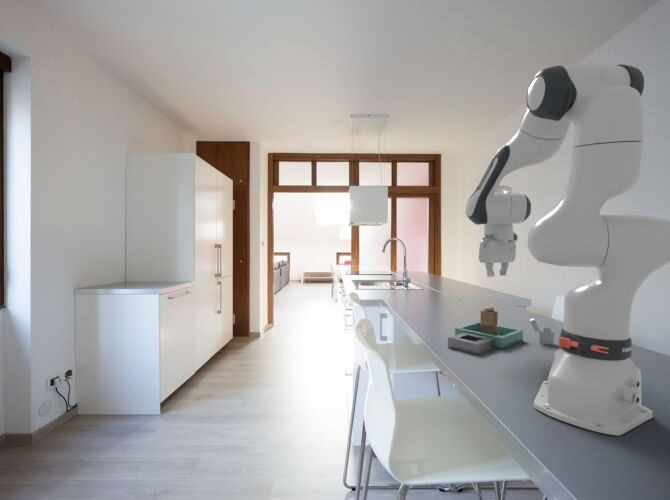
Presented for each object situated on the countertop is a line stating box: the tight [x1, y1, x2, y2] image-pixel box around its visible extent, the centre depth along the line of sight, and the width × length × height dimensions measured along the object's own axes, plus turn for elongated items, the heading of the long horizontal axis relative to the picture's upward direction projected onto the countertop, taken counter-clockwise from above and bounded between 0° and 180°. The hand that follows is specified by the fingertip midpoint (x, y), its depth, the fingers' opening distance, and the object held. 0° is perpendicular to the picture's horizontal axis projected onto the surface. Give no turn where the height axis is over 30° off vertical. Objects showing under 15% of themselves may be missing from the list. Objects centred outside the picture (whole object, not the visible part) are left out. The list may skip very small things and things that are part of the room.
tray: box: [454, 321, 524, 350], centre depth 120 cm, size 16×16×4 cm
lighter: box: [528, 317, 555, 346], centre depth 116 cm, size 7×2×8 cm, turn 71°
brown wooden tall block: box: [480, 306, 499, 336], centre depth 119 cm, size 4×4×10 cm
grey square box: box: [447, 332, 495, 356], centre depth 110 cm, size 10×10×3 cm
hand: (497, 276), depth 118 cm, fingers open, 8 cm apart
